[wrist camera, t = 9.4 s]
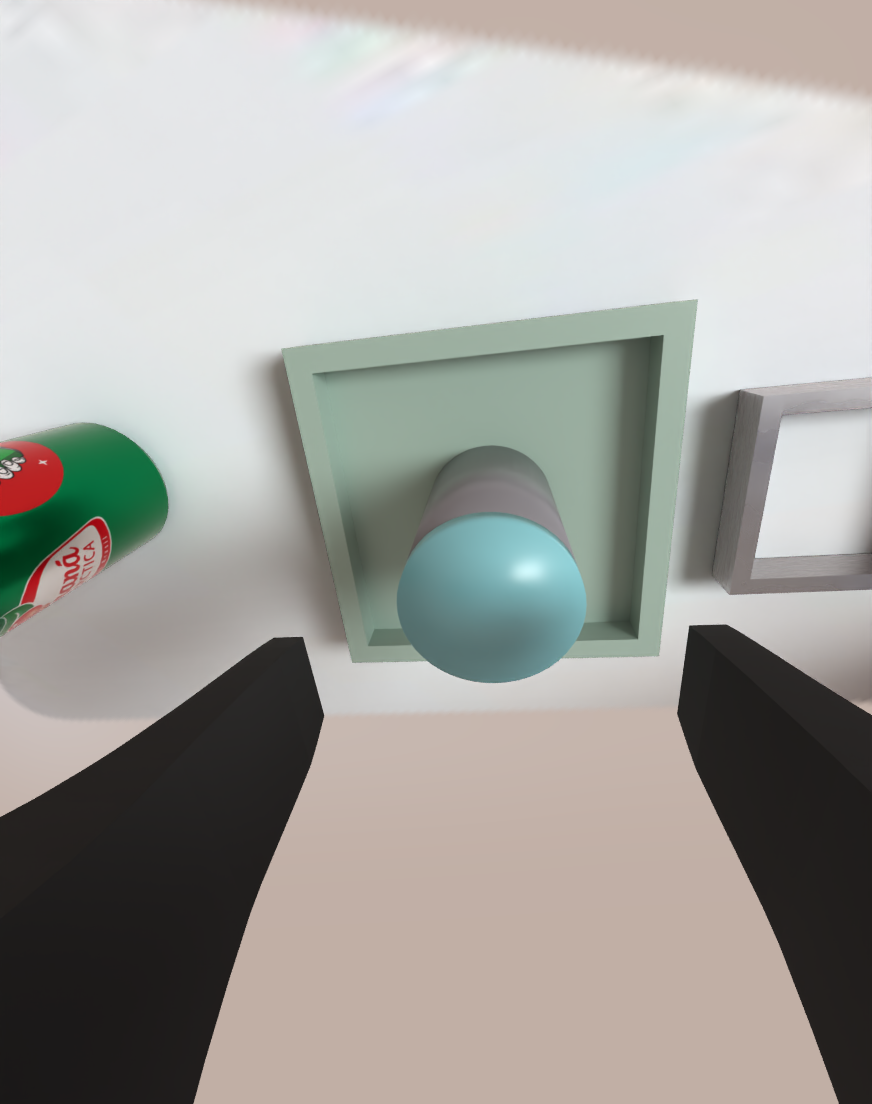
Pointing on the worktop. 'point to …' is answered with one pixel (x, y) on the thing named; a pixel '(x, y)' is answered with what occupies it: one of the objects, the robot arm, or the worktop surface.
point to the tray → (511, 421)
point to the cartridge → (491, 572)
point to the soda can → (70, 512)
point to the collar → (750, 489)
